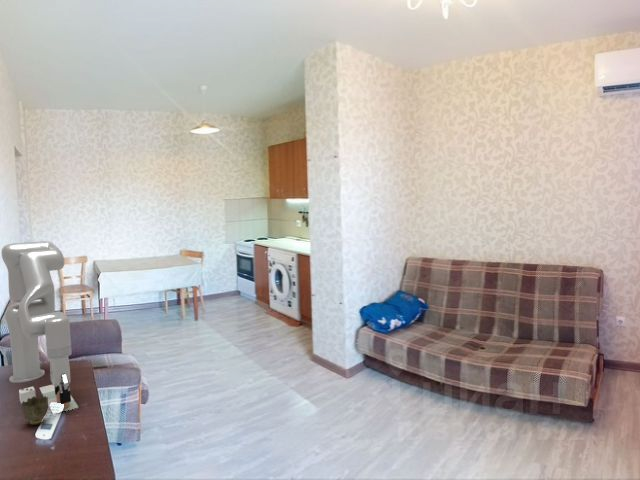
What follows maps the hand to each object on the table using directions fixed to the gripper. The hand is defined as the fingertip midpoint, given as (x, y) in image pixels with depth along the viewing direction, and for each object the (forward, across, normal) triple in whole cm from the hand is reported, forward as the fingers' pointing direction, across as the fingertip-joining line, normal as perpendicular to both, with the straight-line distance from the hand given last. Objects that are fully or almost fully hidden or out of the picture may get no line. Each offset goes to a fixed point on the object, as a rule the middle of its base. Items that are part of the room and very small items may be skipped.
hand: (62, 398), depth 156 cm
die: (+4, -16, -9) cm, 18 cm away
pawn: (+3, 0, 0) cm, 3 cm away
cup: (+4, +6, -9) cm, 12 cm away
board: (+4, -11, 0) cm, 12 cm away
